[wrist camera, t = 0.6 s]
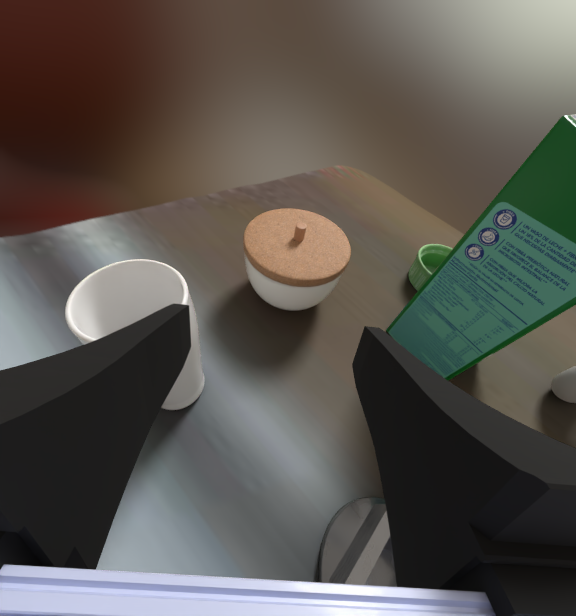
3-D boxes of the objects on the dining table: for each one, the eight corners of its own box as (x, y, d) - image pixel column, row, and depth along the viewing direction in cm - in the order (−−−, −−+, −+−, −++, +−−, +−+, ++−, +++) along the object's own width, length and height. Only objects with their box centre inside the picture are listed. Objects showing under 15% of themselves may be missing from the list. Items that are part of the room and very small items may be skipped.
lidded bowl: (294, 249, 43) (307, 185, 34) (348, 301, 38) (380, 240, 29) (226, 279, 37) (221, 210, 28) (279, 344, 32) (292, 284, 23)
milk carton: (436, 387, 31) (768, 190, 12) (385, 330, 36) (564, 112, 16) (477, 355, 35) (782, 163, 15) (426, 306, 39) (614, 105, 19)
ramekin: (468, 289, 43) (488, 271, 39) (440, 313, 39) (459, 295, 35) (423, 257, 47) (438, 237, 43) (393, 276, 43) (407, 255, 39)
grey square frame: (460, 571, 22) (500, 584, 18) (403, 731, 17) (443, 788, 13) (364, 470, 25) (382, 466, 22) (292, 578, 20) (301, 592, 17)
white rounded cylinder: (209, 417, 26) (180, 346, 14) (136, 421, 25) (38, 348, 13) (214, 355, 30) (195, 259, 18) (151, 356, 29) (87, 255, 17)
